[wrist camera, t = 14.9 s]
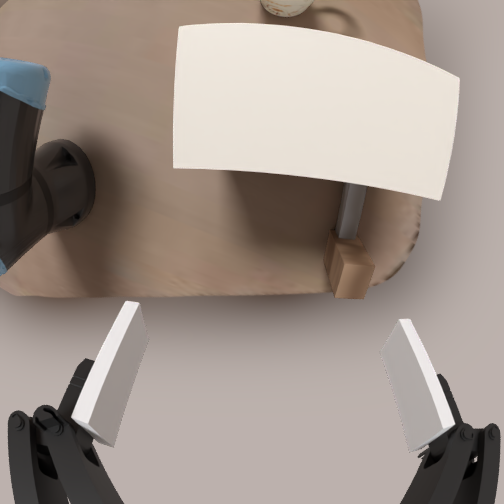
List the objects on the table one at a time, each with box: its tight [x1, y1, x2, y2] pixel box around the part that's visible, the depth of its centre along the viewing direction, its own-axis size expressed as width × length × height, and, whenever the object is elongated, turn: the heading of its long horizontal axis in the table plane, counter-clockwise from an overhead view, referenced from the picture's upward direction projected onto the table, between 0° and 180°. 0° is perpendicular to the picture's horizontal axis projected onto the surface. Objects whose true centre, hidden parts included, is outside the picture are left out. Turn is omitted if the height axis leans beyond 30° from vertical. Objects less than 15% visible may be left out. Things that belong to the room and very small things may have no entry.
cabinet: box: [173, 23, 460, 201], centre depth 22 cm, size 20×10×17 cm, turn 86°
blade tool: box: [324, 182, 375, 299], centre depth 32 cm, size 4×15×9 cm, turn 177°
